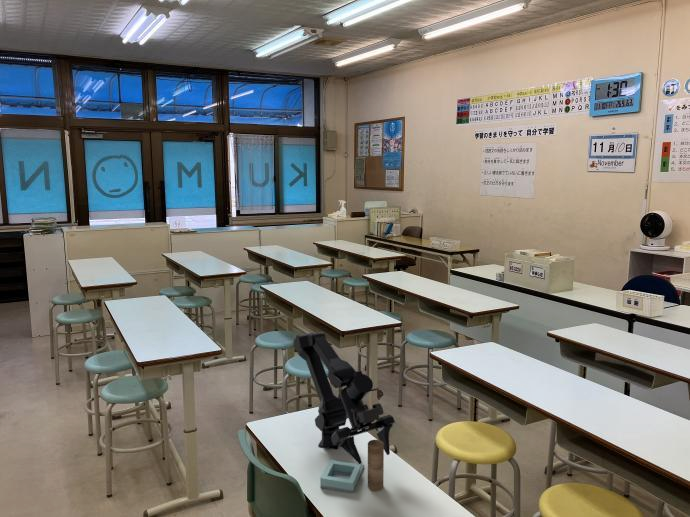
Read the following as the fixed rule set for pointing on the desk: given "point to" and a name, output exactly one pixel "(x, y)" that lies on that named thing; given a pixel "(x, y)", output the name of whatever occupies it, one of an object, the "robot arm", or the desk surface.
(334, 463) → the light blue hollow frame
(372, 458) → the dowel peg
